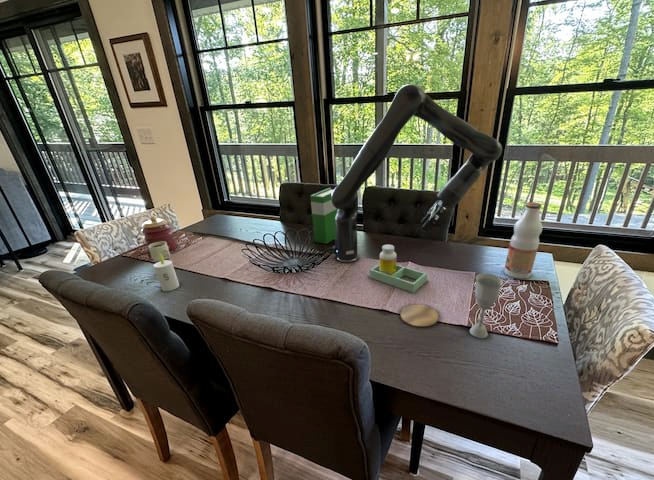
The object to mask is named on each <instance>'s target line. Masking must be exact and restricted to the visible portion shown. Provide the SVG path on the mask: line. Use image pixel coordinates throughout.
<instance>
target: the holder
mask: <svg viewBox="0 0 654 480" xmlns="http://www.w3.org/2000/svg"><path fill="white" fill-rule="evenodd" d="M403 277H408V278H410V279H414V281H413V282H412V281H408V280H405V279H402V278H403ZM369 278H371V279H373V280H377V281H379V282H381V283H384V284H388V285H391V286H393V287H396V288H399V289H402V290H405V291H407V292H410V293H415V292H416V291H417V290H418V289H419V288H421V287H422V286H423V285H424V284H426V282H427V278H428V273H426V272H423V271H420V270H417V269H413V268H409V267H407V266H403V265H400V264H397V263H396V273H394V274H393V275H391V276H390V275H387V274H384V273H381V272H379V263H378V264H376V265H375V266H373V267H372V268H370V269H369Z"/></svg>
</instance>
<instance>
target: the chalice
mask: <svg viewBox="0 0 654 480" xmlns="http://www.w3.org/2000/svg"><path fill="white" fill-rule="evenodd" d="M475 281H476V285H475V288H474V296H475V301H476V303H477V306H478V308H479V309H480V312H479V313H478V314H479V317H477V320H478V323H475V324H473V325H472V326H471V328H470V329H469V333H470V334H471V335H472V336H473V337H475V338H478V339H484V338H487V337H488V336H489V332H488V330H487V327H486V326H485V324H483V322H484V321H485V318H484V316H486V312H485V311H488V310H489V309H490V308H491V307H492V306H493V305H495V303H496V301H497V300H498V298H499V295H500V290H501V287H502V285H503V284H504V280H503V279H502V278H501V277H500V276H497V275H495V274H491V273H478V274H476V276H475Z"/></svg>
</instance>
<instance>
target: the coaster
mask: <svg viewBox="0 0 654 480" xmlns="http://www.w3.org/2000/svg"><path fill="white" fill-rule="evenodd" d="M399 314H400V318H401V321H403V322H404V323H405V324H407V325H410V326H412V327H416V328H426V327H431V326H434V325H436V324H437V323H438V320H439V313H438V312H437V311H436V310H435V309H434V308H432V307H430V306H428V305H425V304H415V303H414V304H409V305H406V306H404V307H402V309H401V310H400V313H399Z"/></svg>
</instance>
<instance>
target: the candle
mask: <svg viewBox="0 0 654 480" xmlns="http://www.w3.org/2000/svg"><path fill="white" fill-rule="evenodd" d="M159 257H160V262H157V263H156V262H155V263H154V264H153V268H154V271H155V273H156V276H157V279H158V282H159V284H160V285H159V286H160V287H161V290H162V291H163V292H170V291H174V290H176V289H178V288H179V287H180V282H179V279H178V277H177V274H176V270H175V268H174V267H175V266H174V264H173V261H172V260H171V259H170V260H164V258H163V256H162V254H161V253H160V252H159Z"/></svg>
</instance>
